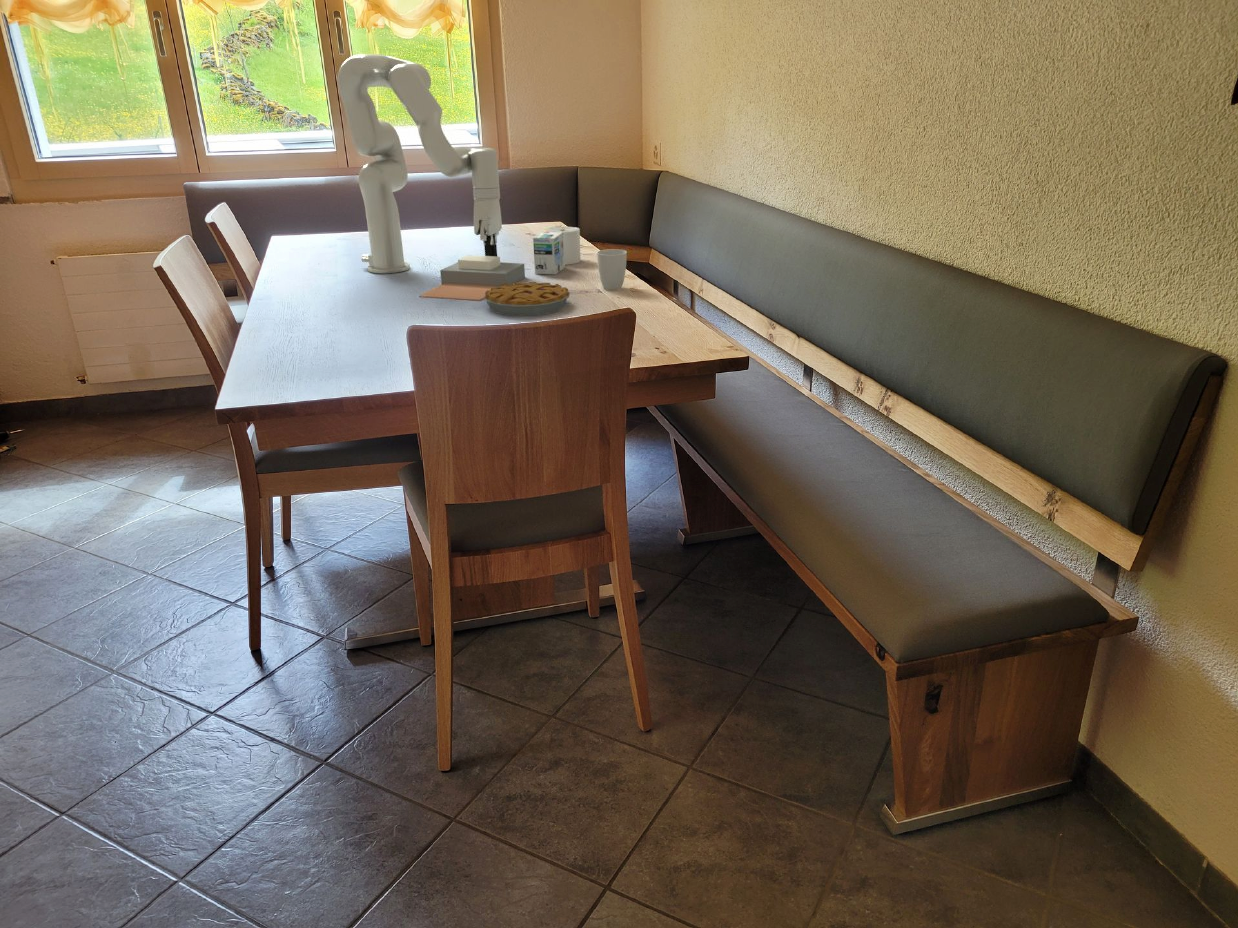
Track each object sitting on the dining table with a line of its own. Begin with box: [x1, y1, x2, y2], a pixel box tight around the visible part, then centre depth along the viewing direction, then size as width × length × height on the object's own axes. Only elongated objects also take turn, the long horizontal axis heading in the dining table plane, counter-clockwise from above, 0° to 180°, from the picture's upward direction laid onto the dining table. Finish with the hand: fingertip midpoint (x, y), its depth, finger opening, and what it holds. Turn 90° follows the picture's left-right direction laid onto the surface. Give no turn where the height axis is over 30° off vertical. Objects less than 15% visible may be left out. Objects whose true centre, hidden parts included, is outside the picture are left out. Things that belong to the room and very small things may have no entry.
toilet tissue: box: [545, 224, 582, 266], centre depth 276 cm, size 11×12×10 cm
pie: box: [482, 281, 571, 317], centre depth 226 cm, size 22×22×5 cm
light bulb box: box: [532, 231, 565, 275], centre depth 264 cm, size 11×7×11 cm, turn 168°
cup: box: [596, 248, 628, 291], centre depth 242 cm, size 8×8×10 cm
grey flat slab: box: [439, 261, 526, 287], centre depth 254 cm, size 20×14×4 cm
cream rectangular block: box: [457, 254, 501, 270], centre depth 253 cm, size 10×7×2 cm
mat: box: [418, 283, 497, 302], centre depth 242 cm, size 18×15×1 cm
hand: (491, 257), depth 260 cm, fingers closed
